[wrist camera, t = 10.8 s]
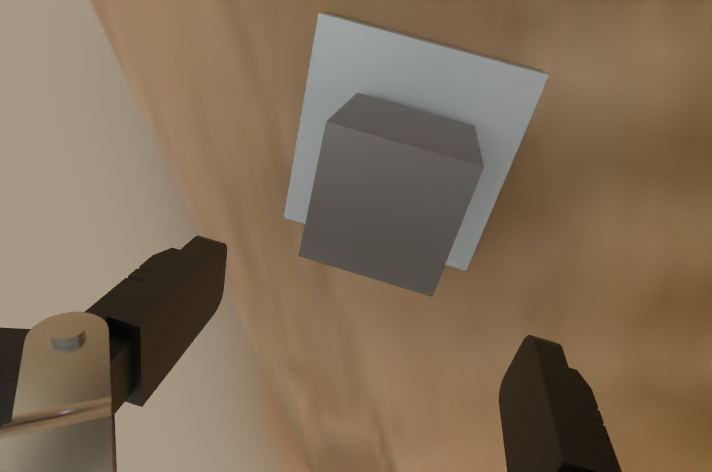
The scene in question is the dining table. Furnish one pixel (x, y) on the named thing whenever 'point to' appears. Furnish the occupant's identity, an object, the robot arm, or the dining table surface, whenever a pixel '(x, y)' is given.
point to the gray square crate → (390, 192)
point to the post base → (416, 105)
